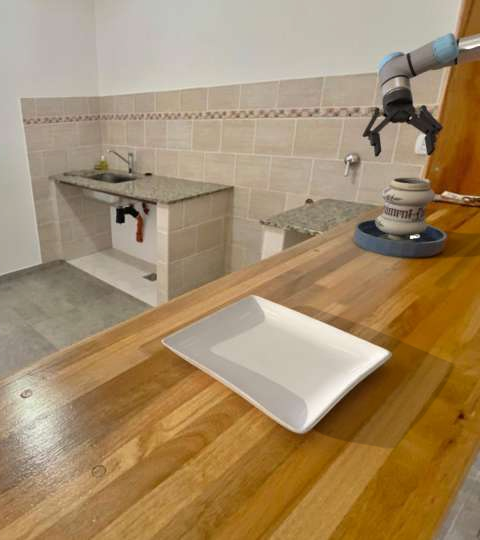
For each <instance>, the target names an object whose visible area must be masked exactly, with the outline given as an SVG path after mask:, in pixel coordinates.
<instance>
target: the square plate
mask: <svg viewBox="0 0 480 540" xmlns="http://www.w3.org/2000/svg"><path fill="white" fill-rule="evenodd" d="M161 343H162V344H163V345H164V346H165V347H167V348H168V349H169V350H170V351H172V352H173V353H174V354H176V355H177V356H178V357H180V358H181V359H183V360H185V361H186V362H187V363H189V364H191V365H192V366H194V367H195V368H197V369H199V370H201V371H202V372H204V373H205V374H207V375H208V376H210V377H211V378H213V379H215V380H216V381H217V382H219V383H220V384H223V386H225V387H226V388H229V389H230V390H231V391H232V392H234V393H236V394H237V395H238V396H240V397H241V398H243V399H244V400H245V401H247V402H248V403H249V404H251V405H253V406H254V407H255V408H257V410H259V411H260V412H261V413H263V414H265V415H266V416H267V417H269V418H270V419H271V420H273V421H275V422H276V423H277V424H279V425H281V426H282V427H284V428H285V429H287V430H289V431H291V432H293V433H295V434H299V435H305V434H307V433H308V432H310V431H311V430H312V429H313V428H314V427H315V426H316V425H317V424H319V423H320V421H321V420H322V419H323V418H324V417H326V415H327V414H328V413H329V412H330V411H331V410H332V409H333V408H334V407H335V406H336V405H337V404H338V403H339V402H340V401H341V400H342V399H343V398H344V397H345V396H346V395H348V394H349V392H350V391H352V390H353V389H354V388H355V387H356V386H357V385H358V384H360V383H361V382H362V381H363V380H365V379H366V378H367V377H368V376H370V375H371V374H372V373H374V372H375V371H376V370H377V369H379V368H380V367H382V366H383V365H384V364H385V363H386V362H387V361H389V360H390V359H391V357H393V353H392V352H391V350H388V349H386V348H384V347H382V346H379V345H376V344H375V343H372V342H370V341H367V340H366V339H363V338H360V337H358V336H356V335H353V334H351V333H349V332H346V331H344V330H342V329H339V328H337V327H335V326H333V325H331V324H328V323H326V322H324V321H321V320H319V319H317V318H314V317H312V316H309V315H306V314H305V313H303V312H299V311H298V310H295V309H292V308H290V307H287V306H284V305H283V304H279V303H277V302H274V301H273V300H272V301H271V300H269V299H267V298H264V297H261V296H259V295H257V294H256V295H255V294H250V295H248V296H245V297H244V298H242V299H240V300H238V301H236V302H234V303H231V304H229V305H228V306H225V307H223V308H222V309H220V310H217V311H215V312H213V313H211V314H209V315H207V316H205V317H203V318H201V319H199V320H198V321H197V320H196V321H195V322H193V323H191V324H189V325H188V326H185V327H183V328H181V329H180V330H178V331H176V332H174V333H171V334H170V335H168V336H166V337H164V338H163V339H161Z"/></svg>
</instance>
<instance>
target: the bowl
mask: <svg viewBox="0 0 480 540" xmlns="http://www.w3.org/2000/svg"><path fill="white" fill-rule="evenodd" d="M376 219H377V218H375V219H367V220H363V221H359V222H357V223H356V224H355V227H354V231H353V235H352V239H353V241H354V242H355V243H356V244H357V246H359V247H361V248H363V249H364V250H367V251H369V252H371V253H372V252H373V253H375V254H378V255H383V256H387V257H388V256H389V257H395V258H405V259H406V258H407V259H410V258H411V259H419V258H421V259H422V258H429V257H433V256H435V255H438V254H440V253H442V252H443V250H444V248H445V245H446V241H447V238H448V235H447V233H446V232H445V231H443V230H442V229H439V228H438V227H435V226H432V225H429V224H427V228H426V230H425V231H423V232H421V233H419V234H417V235H412V236H407V237H409V238H411V239H413V240H414V241H416V243H415V242H400V241H392V240H387V239H382V238H378V236H380V235H386V234H388V233H385V232H383V231H381V230H380V229H379V228H378V227H377V226H376V224H375V221H376Z"/></svg>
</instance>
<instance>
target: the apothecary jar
mask: <svg viewBox="0 0 480 540" xmlns="http://www.w3.org/2000/svg"><path fill="white" fill-rule="evenodd" d="M381 196H382V198H383V199H384V205H383V210H382V213H381V214H379V215H378V216H377V217H376V218H375V219H376V221H375V224H376V226H377V227H378V228H379V229H380V230H381V231H383V232H385V233H388V234H386V235H380V236H378V238H382V239H387V240H392V241H400V242H415V243H416V241H414V240H413V239H411V238H409V237H407V236H412V235H417V234H419V233H421V232H423V231H425V230H426V228H427V225H428V222H427V220H426V219H425V215H426V209H427V206H428V204H429V203H431V202H432V201H434V200H435V197H436V193H435V192H434V190H433V189H432V188H431V180H430V179H428V178H424V177H414V176H413V177H410V176H409V177H407V176H405V177H403V176H402V177H396V178H393V179H392V180H391V182H390V183H389V185H388V186H386V187H385V188H384V189H383V190H382V192H381Z"/></svg>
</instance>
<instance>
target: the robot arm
mask: <svg viewBox="0 0 480 540" xmlns="http://www.w3.org/2000/svg"><path fill="white" fill-rule="evenodd" d="M476 61H480V33H477V34H471V35H469V36H465V37H461V38H457V39H456V37H455V34H454V33H452V32H449V33H447V34H445V35H442V36H440V37H436V38H435V39H434V40H432V41H430V42H428V43H427V44H424V45H422V46H420V47H418V48H416V49H414V50H412V51H410V52H408V53H404V52H402V51H396V52H391V53H389V54H387V55H386V56H384V57H383V58H382V59H381V60H380V61H379V64H378V78H379V84H380V85H379V86H380V95H381V100H382V102H381V103H382V109H380V107H377V106H376V107H375V108H374V110H373V112H372V113H371V114H372V115H371V119H370V120H369V123H368V124H367V126H366V128H365V129H364V131H363V133H362V137H363V138H367V137H368V138H367V140H369V143H370V147H373V151H374V157H375V158H376V157H377V158H378V157H379V156H380V154H381V153H382V143H381V136H380V135H381V134H380V132H382V130H383V128H384V129H385V127H386V126H388V125H389V124H390V123H392V124H405V123H406V124H407V125H411V126H413V127H414V128H415V129H416V130H418V131H420V132H421V133H422V134H424V135H425V136H424V143H425V150H426V156H431V155H432V154H433V153H434V152H435V151H436V147H435V146H436V145H435V144H436V142H437V140H438V139H437V136H438V135H439V134H440V132H441V131H442V130H443V129H444V126H443V125H442V124H441V123H440V122H439V121H438V120H437V119H436V117H434V116H433V114H431V113H430V112H429V111H428V108H427V106H426V105H425V104H423V105H421V106H420V107H415V106H414V99H413V93H412V87H411V79H413V78H416V77H417V76H419V75H421V74H424V73H426V72H429V71H438V70H442V69H445V68H449V67H453V66H454V67H455V66H459V65H464V64H467V63H472V62H476ZM381 116H382V117H384V118H383V120H382V121H380V123H379V124H377V126H375V127H374V124H375V123H376V120H377V119H378V118H380V117H381ZM372 127H374V128H373V130H372Z"/></svg>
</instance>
